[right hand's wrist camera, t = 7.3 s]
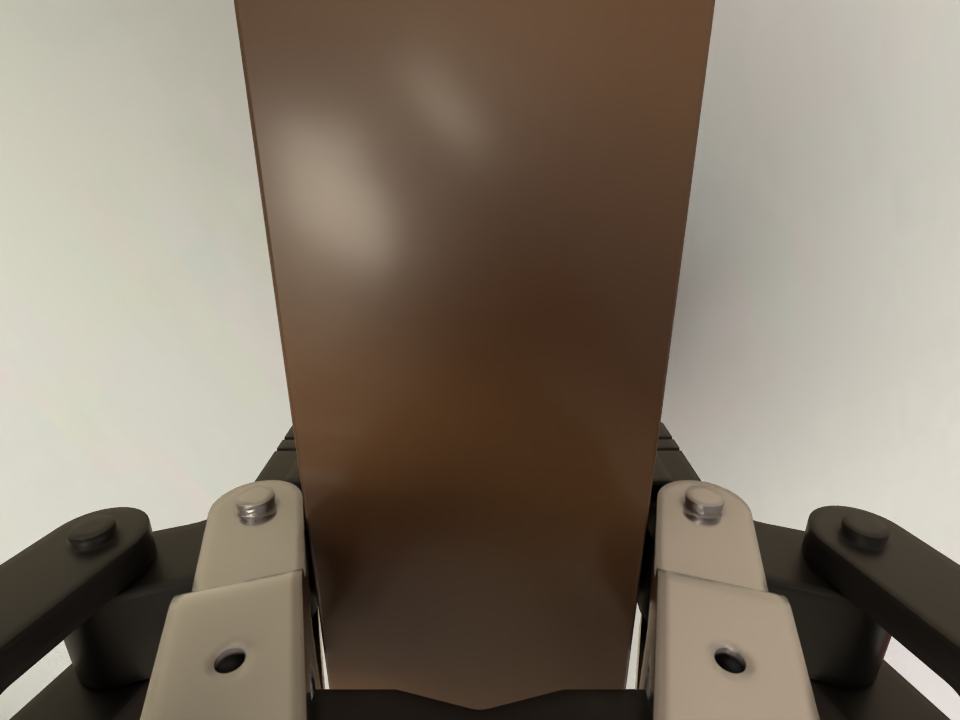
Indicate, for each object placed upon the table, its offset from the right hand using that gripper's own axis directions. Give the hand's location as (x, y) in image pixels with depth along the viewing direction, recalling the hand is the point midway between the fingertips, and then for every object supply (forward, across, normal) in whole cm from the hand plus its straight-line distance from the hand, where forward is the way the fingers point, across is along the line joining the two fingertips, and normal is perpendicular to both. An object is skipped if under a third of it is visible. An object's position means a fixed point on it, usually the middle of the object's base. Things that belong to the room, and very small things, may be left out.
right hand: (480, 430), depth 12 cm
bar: (+2, 0, -18) cm, 19 cm away
